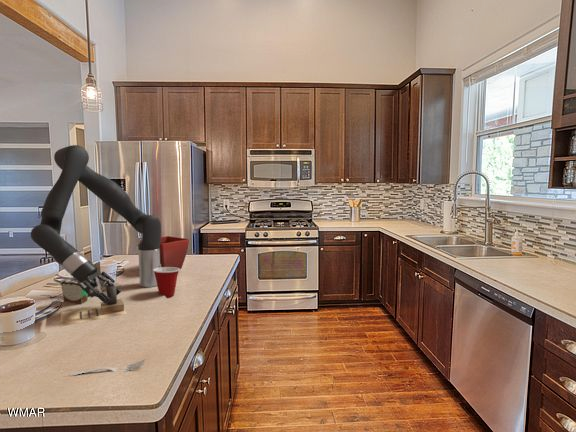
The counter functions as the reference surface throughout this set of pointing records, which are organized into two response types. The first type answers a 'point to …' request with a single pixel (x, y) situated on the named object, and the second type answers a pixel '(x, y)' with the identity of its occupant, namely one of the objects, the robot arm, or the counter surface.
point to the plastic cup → (166, 280)
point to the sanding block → (112, 302)
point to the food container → (73, 291)
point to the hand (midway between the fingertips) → (113, 297)
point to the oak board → (85, 315)
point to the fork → (113, 368)
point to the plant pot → (172, 251)
